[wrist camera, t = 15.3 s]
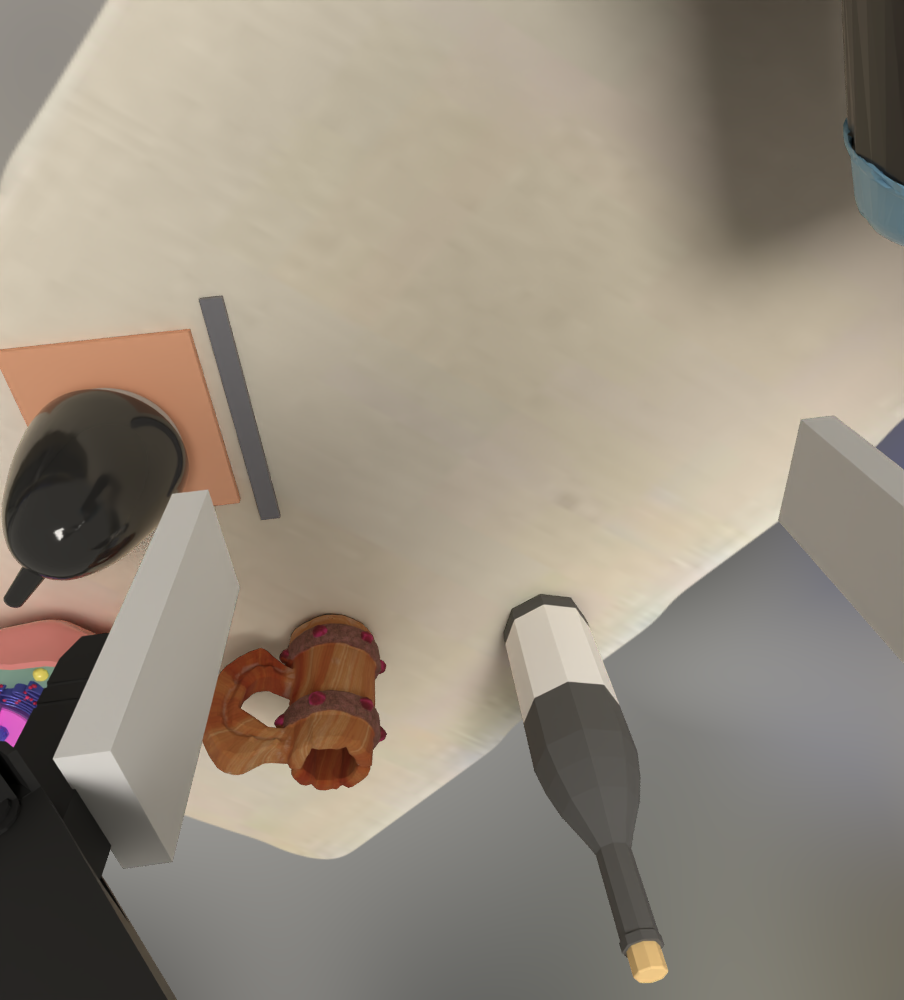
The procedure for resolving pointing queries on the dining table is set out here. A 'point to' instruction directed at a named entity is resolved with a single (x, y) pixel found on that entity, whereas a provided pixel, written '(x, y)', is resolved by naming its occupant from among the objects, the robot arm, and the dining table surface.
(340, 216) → the dining table surface
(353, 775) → the mug
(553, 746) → the wine bottle
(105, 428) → the pump dispenser
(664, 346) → the dining table surface
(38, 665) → the cell model
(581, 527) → the dining table surface
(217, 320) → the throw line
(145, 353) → the mat
